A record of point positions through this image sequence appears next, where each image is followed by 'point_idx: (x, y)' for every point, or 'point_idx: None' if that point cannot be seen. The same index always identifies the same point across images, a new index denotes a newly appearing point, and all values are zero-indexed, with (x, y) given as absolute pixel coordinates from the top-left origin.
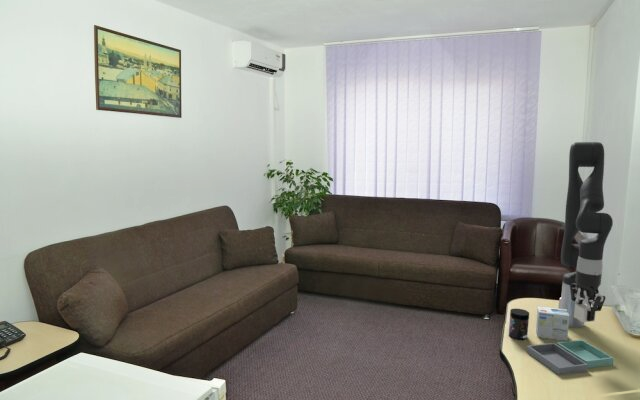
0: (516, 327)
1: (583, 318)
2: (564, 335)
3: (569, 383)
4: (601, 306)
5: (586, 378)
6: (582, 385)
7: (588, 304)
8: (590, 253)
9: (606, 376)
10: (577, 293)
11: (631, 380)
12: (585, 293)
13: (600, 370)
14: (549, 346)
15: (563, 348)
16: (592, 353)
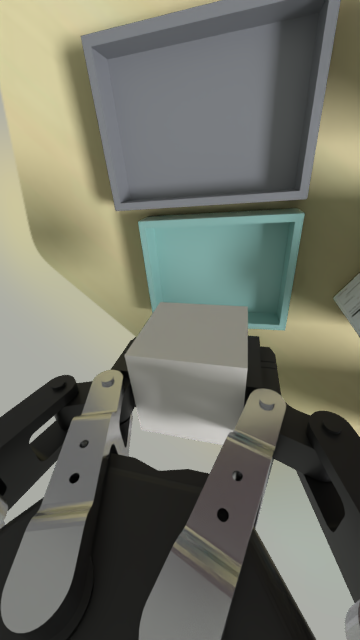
0: None
1: (154, 314)
2: (349, 301)
3: (60, 74)
4: (29, 444)
5: (98, 177)
6: (54, 125)
7: (96, 413)
8: None
9: (111, 252)
10: (243, 518)
11: (96, 297)
12: (36, 551)
13: (143, 261)
14: (301, 165)
15: (256, 214)
16: None
